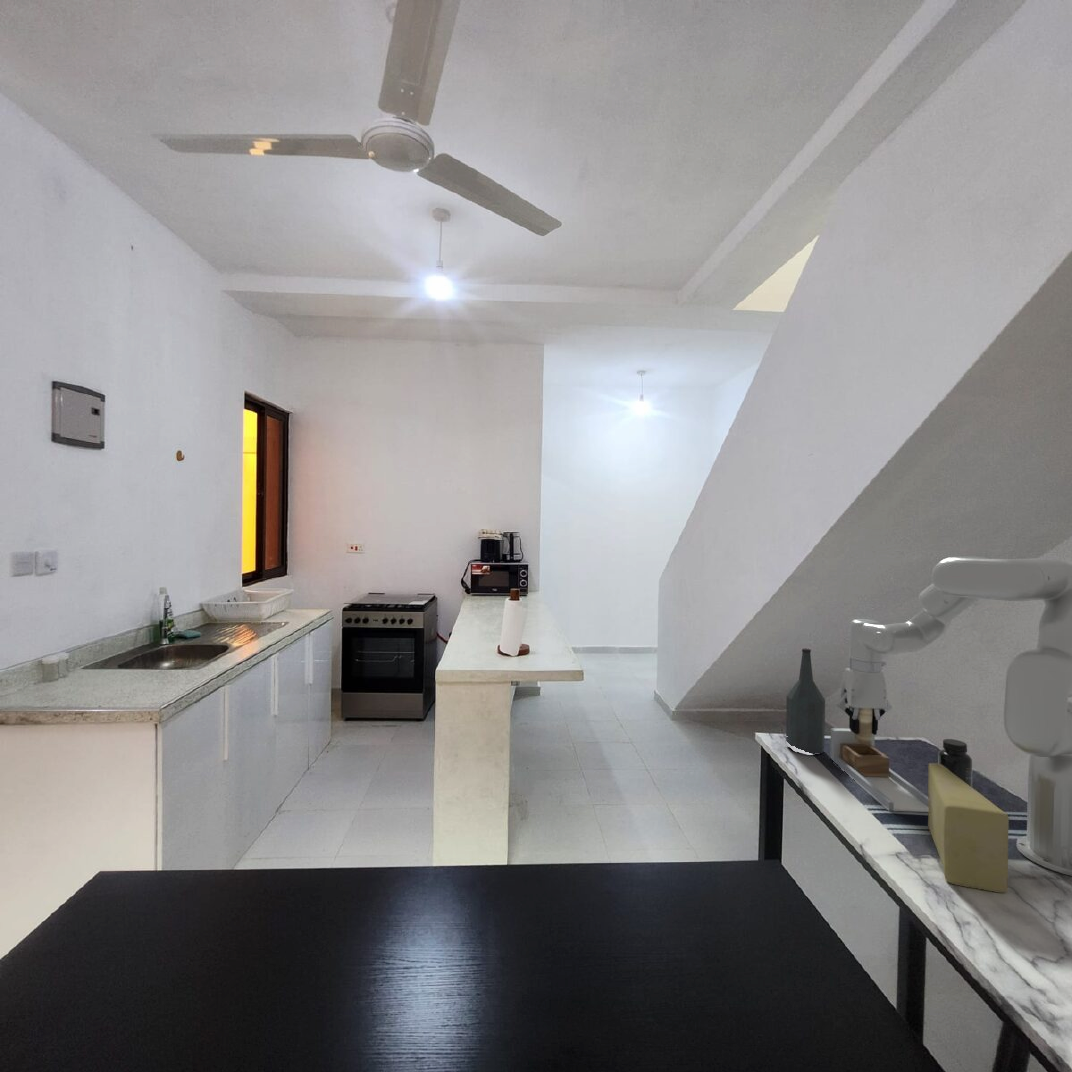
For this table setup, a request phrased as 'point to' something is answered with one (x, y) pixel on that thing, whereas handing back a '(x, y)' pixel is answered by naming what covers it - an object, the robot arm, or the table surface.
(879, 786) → the track
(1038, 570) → the robot arm
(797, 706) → the bottle
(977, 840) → the cheese
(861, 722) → the dowel
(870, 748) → the brown wooden open box
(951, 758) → the supplement bottle
